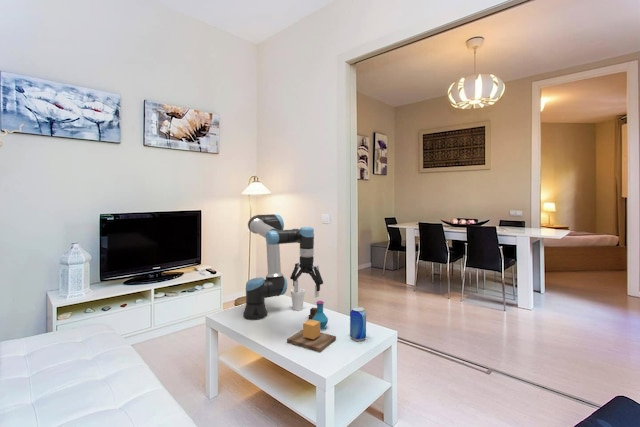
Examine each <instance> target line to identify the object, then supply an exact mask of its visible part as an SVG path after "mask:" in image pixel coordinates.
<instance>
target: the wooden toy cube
mask: <svg viewBox="0 0 640 427" xmlns="http://www.w3.org/2000/svg"><path fill="white" fill-rule="evenodd" d="M302 330H303V337H306V338H310V339H313V340H314V339H315V338H316V337H318V336H319V335H320V332H321V330H320V322H319V321H315V320H311V319H310V320H309V319H308V320H306V321H304V322H303V323H302Z"/></svg>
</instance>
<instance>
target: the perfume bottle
mask: <svg viewBox="0 0 640 427" xmlns="http://www.w3.org/2000/svg"><path fill="white" fill-rule="evenodd" d="M315 303H316V308H317V313H316V314H315V316H314V317H313V318H312V320H315V321H319V322H320V331H321V330H325V329H326V328H327V324H328V322H329V318H328V317H327V315H326V314H325V313H324V304H325V302H324V301H323V300H317V301H315Z"/></svg>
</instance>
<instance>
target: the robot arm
mask: <svg viewBox="0 0 640 427" xmlns="http://www.w3.org/2000/svg"><path fill="white" fill-rule="evenodd" d="M247 228H248V230H249V231H250V232H251V233H252V234H256V235H259V236H261V237H263V238H265V242H266V244H265V245H266V246H265V247H266V260H267V261H266V262H267V263H266V264H267V274H266V275H265V278H264V277H255V278H251V279H249V280H247V281H246V284H245V307H244V310H243V318H244V319H246V320H251V321H255V320H256V321H257V320H262V319H264V318H266V317H268V309H267V306H266V302H265V301H266V300H265V299H267V298H274V297H279V296H283V295H285V294H286V292H287V290H288V281H287V278H286V277H285V276H284V274H283V272H282V266H281V251H280V250H281V249H280V245H283V244H285V245H286V244H295V243H296V244H299V262H297V263H294V268H293V270H292V273H291V275H290V277H289V279H290V280H292V282H293V283H292V285H293V287H294V288H293V289H294V293H297V292H298V288H299V280H298V279H299V277H300V276H301V275H302V274H306V275H307V274H308V275H310V277H311V279H312V280H313V282H314V298H318V297H319V296H320V291H321V285H323V284H324V281H323V278H322V276H321V273H320V270H319V269H320V268H319V265H315V266H314V258H315V256H314V254H315V253H314V251H315V248H314V246H315V241H314V240H315V233H314V228H313V227H311V226H302V227H300V228H292V229H285V224H284V219H283V217H282V216H281V215H280V214H276V213H275V214H256V215H253V216H252V217H250V219H249V220H248V222H247Z"/></svg>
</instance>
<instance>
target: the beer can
mask: <svg viewBox="0 0 640 427" xmlns="http://www.w3.org/2000/svg"><path fill="white" fill-rule="evenodd" d="M349 336H350V338H351V340H353V341H355V342H363V341H365V339H366V337H367V312H366V310H365V308H364V307H363V306H352V308H351V310H350V312H349Z"/></svg>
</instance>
